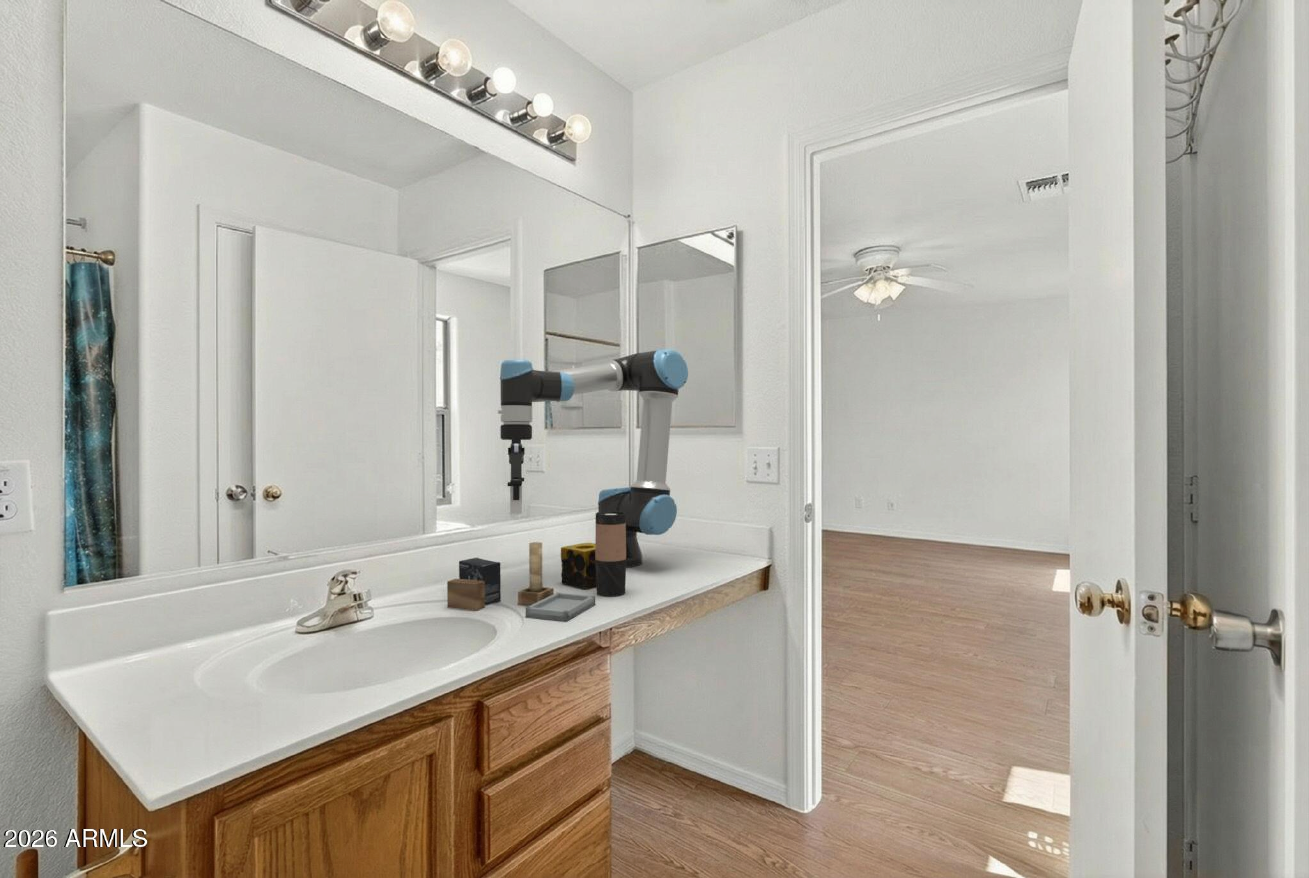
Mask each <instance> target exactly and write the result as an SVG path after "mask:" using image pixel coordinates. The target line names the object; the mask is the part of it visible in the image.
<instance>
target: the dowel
mask: <svg viewBox="0 0 1309 878" xmlns="http://www.w3.org/2000/svg"><path fill="white" fill-rule="evenodd" d="M528 544H529V545H528V547H529V549H528V551H529V553H528V558H529V559H528V561H529V562H528V563H529V565H528V566H529V567H528V569H529V570H528V572H529V574H528V575H529V582H528V583H529V586H528V587H529V589H530V592H536V593H540V592H542V587H543V543H542V542H539V541H536V542H529V543H528Z"/></svg>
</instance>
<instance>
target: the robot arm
mask: <svg viewBox="0 0 1309 878" xmlns="http://www.w3.org/2000/svg"><path fill="white" fill-rule="evenodd" d="M499 376H500V377H499V380H500V383H499V384H500V409H498V410H497V413H498V414H500V422H501V423H502V424H501V425H500V428H499V429H500V433H499V434H500V439H501V440H505V441H511V443H510V447H508V448H507V455H508V463H509V465H510V481H508V482H507V487H509V488H510V489H509V490H510V491H509V496H510V497H509V500H510V501H509V504H510V505H509V511H510V512H509V513H510V515H522V514H523V482H525V477H522V475H523V474H522V466H523V464H524V463H525V461H524V455H525V454H526V453H525V451H526V449H525V447H523V444H522V441H526V440H528V441H530V440H532V439H533V426H532V425H531V423H532V422H533V403H542V402H543V403H544V402H557V403H560V402H567V401H570V400H571V399H572V397H573V396H575V395H581V394H587V393H588V394H589V393H592V392H598V391H605V390H608V391H609V392H618V391H620V392H621V391H623V392H624V391H632V392H633V391H634V392H635V391H638V395H639V396H640V397H641V399H642V400H643V401H642V402H643V403H642V411H641V412H642V413H641V414H642V415H641V422H640V423H641V425H640V437H639V448H638V460H637V470H636V480H635V481H634V483H632V484H631V485H630V486H629V487H627V486H626V487H618V488H608V489H601V490H600V491H599V493H598V502H597V504H598V505H597V506H598V507H597V509H598V512H600V514H606V513H607V512H609V511H619V512H625V514H626V568H631V567H636V566H640V565H642V564H643V553H642V549H641V547H640V544H639V541H638V538H637V533H640V534H644V535H646V536H647V535H650V536H653V535H654V536H659V535H664V534H665V533H667V532H668V531H669V530H670V529H671V528H672V527H673V525H674V524H675V521H676V518H677V513H678V509H677V507H678V506H677V503H675V502H676V501H675V500H674V498H673V497H672V496H670V495H671V488H670V487H669V486H668V484H667V483H666V481H667V471H668V461H669V460H668V459H669V458H668V457H669V456H668V455H669V447H670V446H669V445H670V435H671V422H672V411H673V410H672V409H673V402H674V401H675V400H676V399H678V398H679V390H680V389H681V388H683V387H684V386H685V384H686V383H687V381H688V378H689V370H688V365H687V361H686V360H685V359H684V357H683V355H682V354H681V353H680V352H678V351H676V350H675V349H672V348H671V349H669V348H666V349H662V348H661V349H658V350H651V351H644V352H637V353H633V354H629V355H626V356H622V357H619V358H614V359H609V360H606V361H605V363H603V364H596V365H589V366H588V365H587V366H581V367H572V368H565V369H558V370H550V371H549V370H547V371H546V370H536V369H534V368H533V363H532V362H531V361H530V360H526V359H515V358H514V359H506V360H504V361H502V362H501V365H500V375H499Z"/></svg>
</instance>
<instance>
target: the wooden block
mask: <svg viewBox="0 0 1309 878" xmlns="http://www.w3.org/2000/svg"><path fill="white" fill-rule="evenodd" d="M446 585H447V586H446V589H447V590H446V591H447V592H446V593H447V594H446V595H447V597H446V598H447V599H446V601H447V608H448V609H458V610H467V611H473V612H475V611H476V612H478V611H480V610H482V609H484V608H485V607H486V605H485V581H476V580H466V579H459V578H454V579H453V578H452V579H450V580H447V581H446Z"/></svg>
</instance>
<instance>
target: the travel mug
mask: <svg viewBox="0 0 1309 878" xmlns="http://www.w3.org/2000/svg"><path fill="white" fill-rule="evenodd" d="M595 559H596V560H595V562H596V594H597V595H598V596H600V597H606V598H607V597H620V596H623V595H625V594H626V580H627V579H626V576H627V575H626V574H627V573H626V572H627V567H626V514H625V512H619V511H609V512H607V513H606V514H600V512H595Z"/></svg>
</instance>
